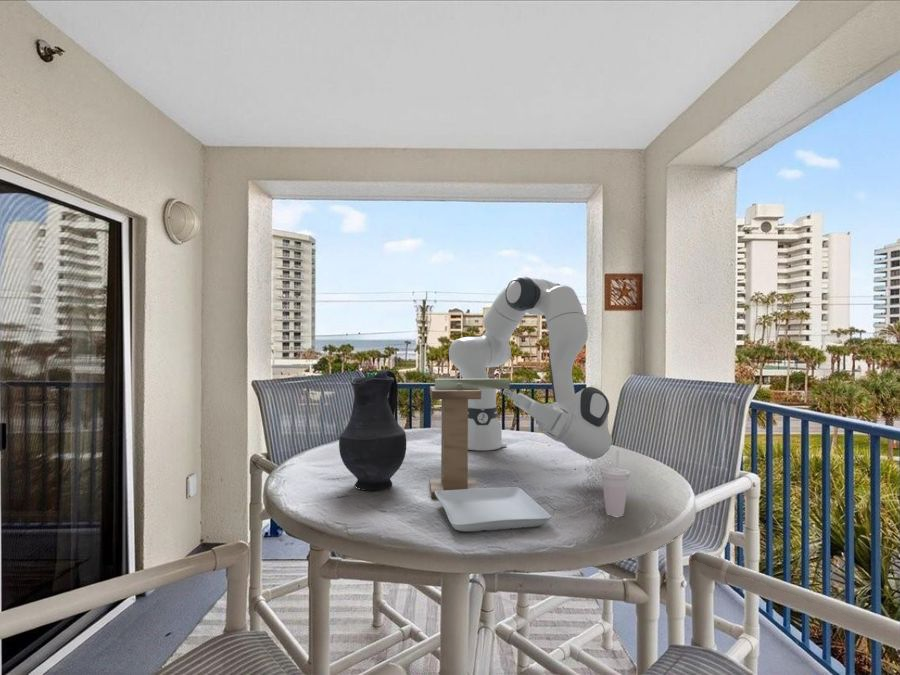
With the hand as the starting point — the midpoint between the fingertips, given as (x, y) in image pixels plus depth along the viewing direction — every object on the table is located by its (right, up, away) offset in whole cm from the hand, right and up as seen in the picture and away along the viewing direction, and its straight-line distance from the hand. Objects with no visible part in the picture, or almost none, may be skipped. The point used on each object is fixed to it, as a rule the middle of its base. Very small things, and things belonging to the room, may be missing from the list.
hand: (507, 393), depth 132 cm
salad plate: (-6, -25, -20) cm, 33 cm away
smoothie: (+22, -25, -18) cm, 38 cm away
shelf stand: (-14, -25, -1) cm, 28 cm away
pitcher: (-34, -25, +4) cm, 43 cm away
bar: (-9, +1, -1) cm, 9 cm away
